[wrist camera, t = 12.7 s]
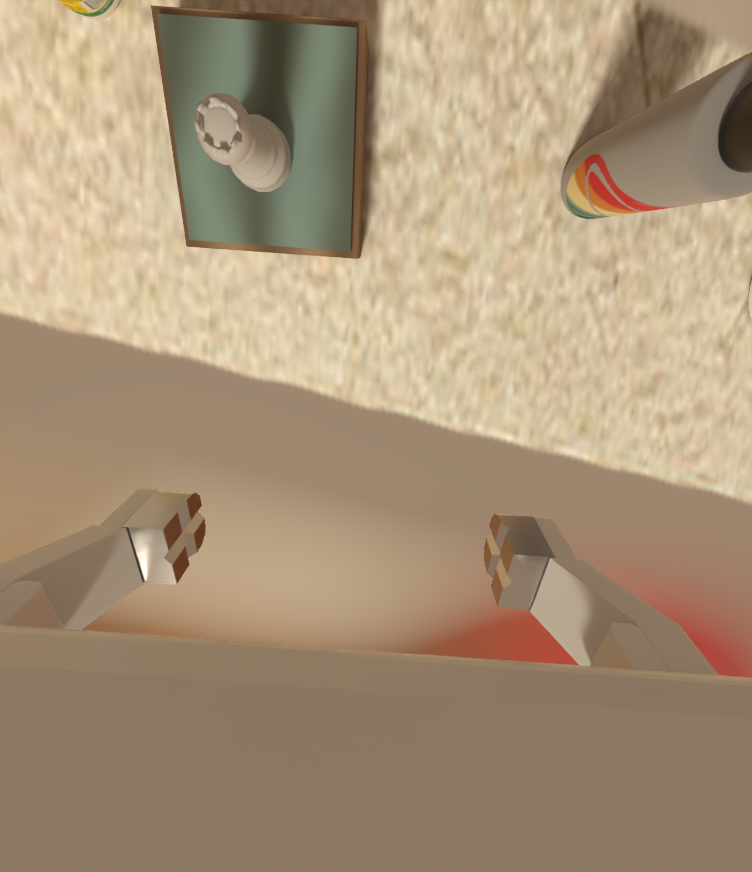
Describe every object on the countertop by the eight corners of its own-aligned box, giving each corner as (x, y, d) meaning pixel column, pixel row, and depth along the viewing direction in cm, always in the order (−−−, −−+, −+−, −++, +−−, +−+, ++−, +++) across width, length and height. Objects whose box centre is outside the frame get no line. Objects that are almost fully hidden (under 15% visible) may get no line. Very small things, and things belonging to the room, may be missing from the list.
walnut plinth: (368, 47, 27) (365, 17, 24) (360, 257, 34) (356, 258, 30) (179, 34, 27) (147, 2, 24) (206, 246, 34) (184, 246, 30)
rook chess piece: (260, 206, 29) (217, 192, 22) (219, 147, 27) (158, 111, 20) (305, 167, 28) (275, 138, 20) (265, 102, 26) (217, 47, 19)
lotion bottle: (569, 233, 32) (790, 213, 14) (550, 162, 30) (782, 37, 12) (638, 196, 31) (975, 125, 13) (623, 119, 29) (1003, -91, 11)
